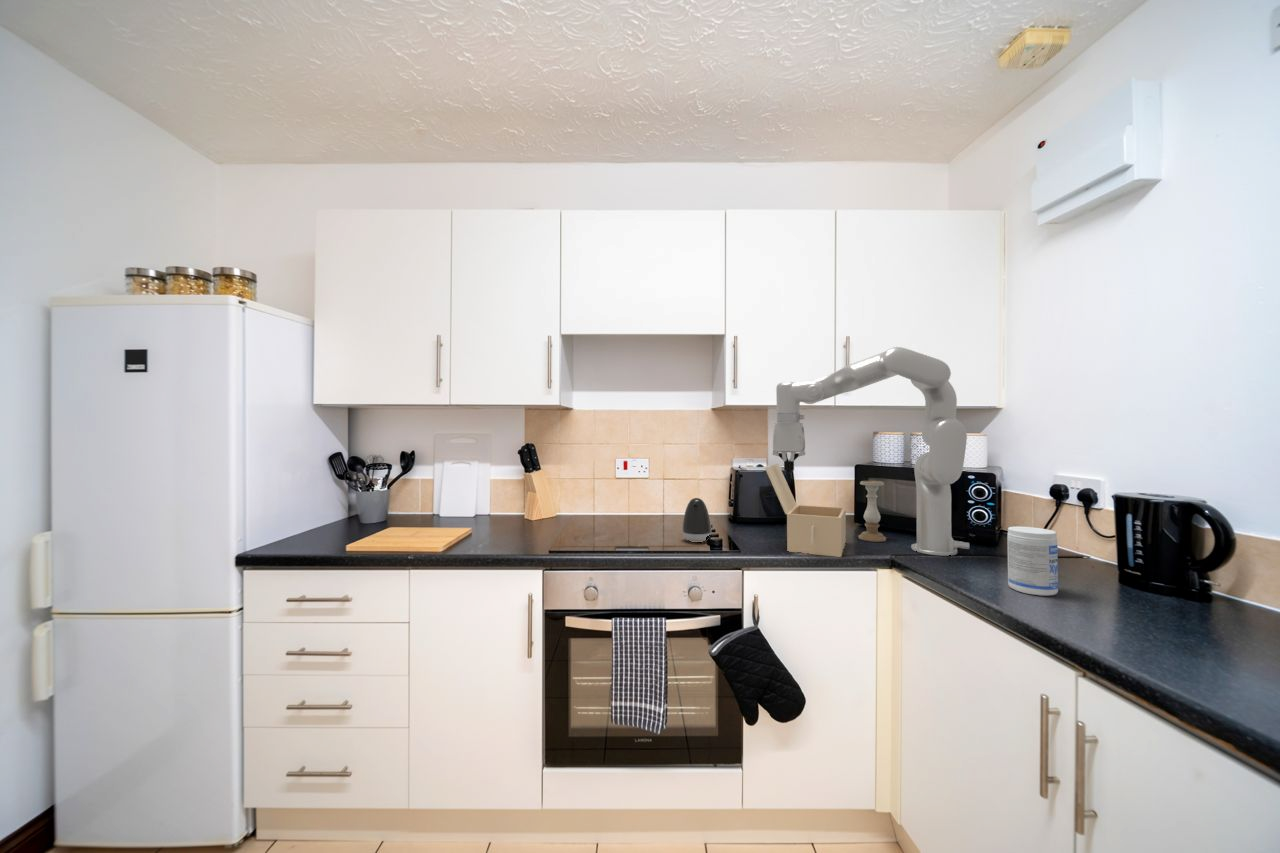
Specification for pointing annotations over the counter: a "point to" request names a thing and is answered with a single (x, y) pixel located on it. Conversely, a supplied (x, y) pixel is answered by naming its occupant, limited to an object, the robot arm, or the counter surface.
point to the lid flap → (781, 488)
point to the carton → (816, 530)
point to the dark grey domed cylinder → (696, 521)
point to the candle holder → (872, 514)
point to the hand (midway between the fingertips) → (789, 472)
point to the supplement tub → (1032, 560)
